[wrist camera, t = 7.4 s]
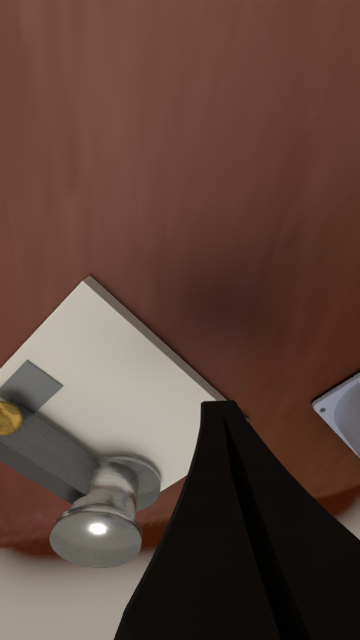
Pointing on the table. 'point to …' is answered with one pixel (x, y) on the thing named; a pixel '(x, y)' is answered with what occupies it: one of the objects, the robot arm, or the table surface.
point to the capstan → (81, 489)
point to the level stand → (109, 383)
